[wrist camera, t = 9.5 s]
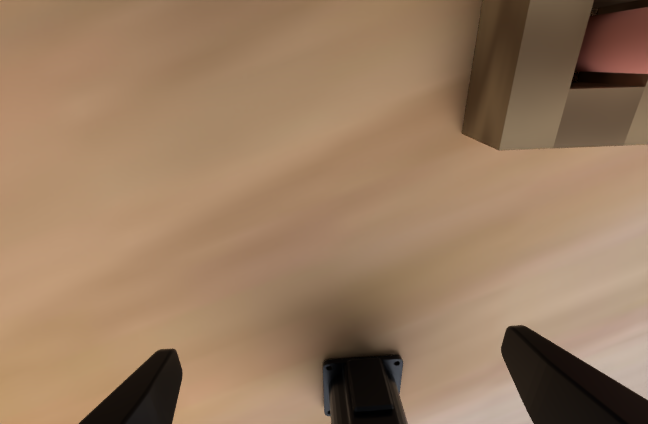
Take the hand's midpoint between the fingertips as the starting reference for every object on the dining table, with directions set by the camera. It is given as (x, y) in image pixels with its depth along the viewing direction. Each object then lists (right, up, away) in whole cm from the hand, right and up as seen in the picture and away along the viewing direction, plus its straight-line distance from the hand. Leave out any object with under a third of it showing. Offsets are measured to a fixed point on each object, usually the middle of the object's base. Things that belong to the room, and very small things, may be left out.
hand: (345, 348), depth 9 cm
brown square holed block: (+12, +13, +9) cm, 19 cm away
